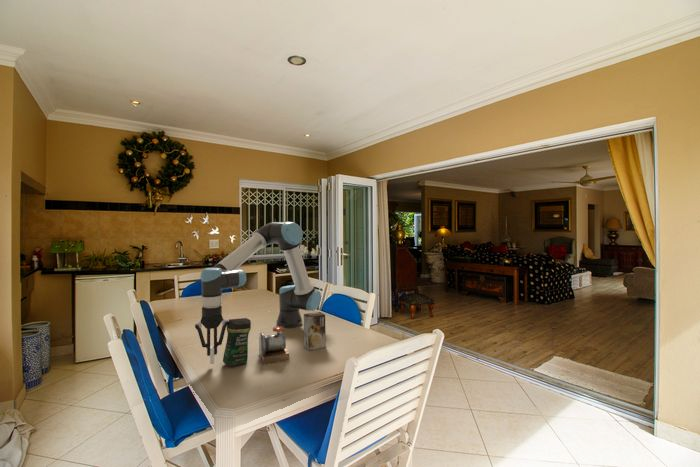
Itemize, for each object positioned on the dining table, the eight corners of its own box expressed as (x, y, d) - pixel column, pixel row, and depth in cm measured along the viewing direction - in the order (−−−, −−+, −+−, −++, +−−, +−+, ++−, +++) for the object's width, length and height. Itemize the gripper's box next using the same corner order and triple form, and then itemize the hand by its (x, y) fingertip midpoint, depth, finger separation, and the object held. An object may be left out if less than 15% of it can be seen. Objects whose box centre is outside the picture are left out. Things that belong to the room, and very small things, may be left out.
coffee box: (320, 343, 159) (321, 311, 159) (325, 347, 153) (326, 314, 153) (303, 346, 155) (303, 313, 155) (308, 350, 149) (308, 316, 149)
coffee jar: (227, 368, 129) (232, 321, 129) (220, 361, 134) (224, 317, 135) (250, 363, 135) (254, 319, 136) (242, 357, 141) (246, 315, 142)
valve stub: (283, 350, 150) (283, 323, 149) (289, 360, 139) (289, 330, 138) (258, 354, 145) (258, 326, 145) (263, 364, 134) (263, 334, 134)
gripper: (228, 302, 137) (228, 356, 137) (194, 305, 131) (194, 362, 132) (229, 306, 130) (229, 363, 130) (194, 309, 124) (194, 369, 125)
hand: (212, 362), depth 131 cm, fingers closed
